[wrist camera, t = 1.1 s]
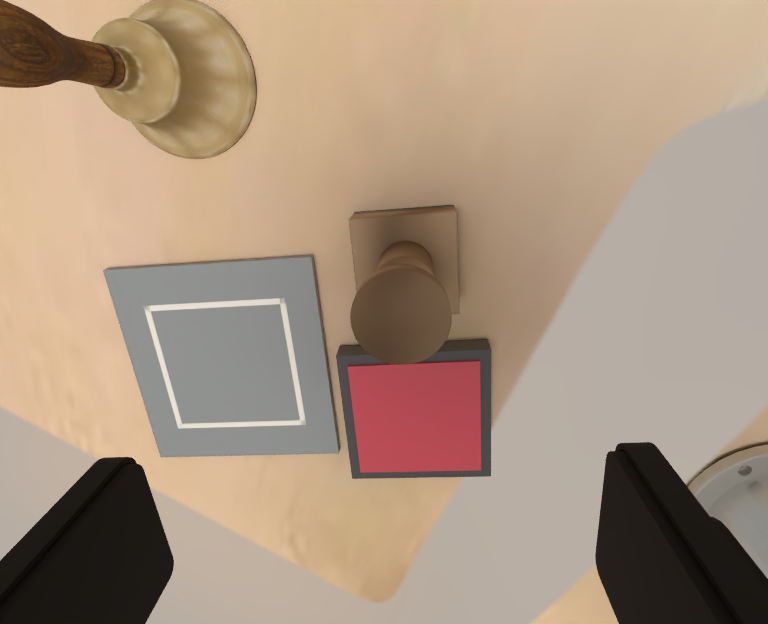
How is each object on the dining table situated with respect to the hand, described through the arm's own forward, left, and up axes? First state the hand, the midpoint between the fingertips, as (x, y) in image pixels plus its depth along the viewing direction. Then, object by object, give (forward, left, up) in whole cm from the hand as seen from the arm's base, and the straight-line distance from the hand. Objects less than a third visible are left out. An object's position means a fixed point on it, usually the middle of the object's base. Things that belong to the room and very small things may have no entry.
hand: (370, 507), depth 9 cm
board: (+13, +7, -21) cm, 26 cm away
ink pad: (0, +11, -21) cm, 24 cm away
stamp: (0, 0, -21) cm, 21 cm away
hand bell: (+12, -11, -22) cm, 27 cm away
